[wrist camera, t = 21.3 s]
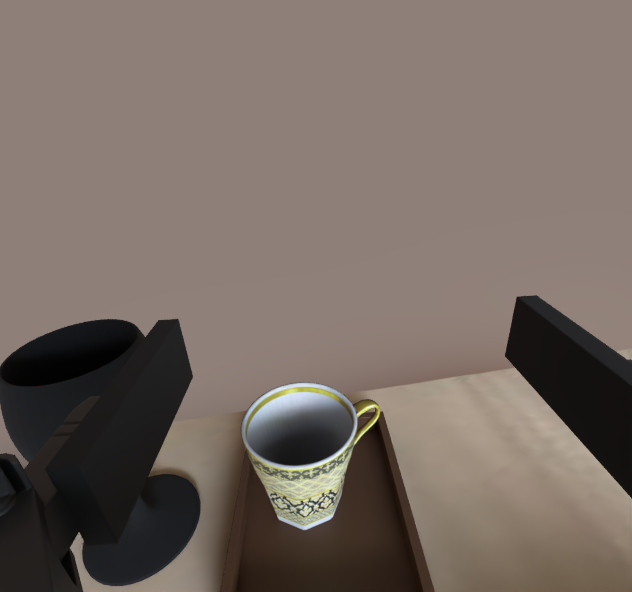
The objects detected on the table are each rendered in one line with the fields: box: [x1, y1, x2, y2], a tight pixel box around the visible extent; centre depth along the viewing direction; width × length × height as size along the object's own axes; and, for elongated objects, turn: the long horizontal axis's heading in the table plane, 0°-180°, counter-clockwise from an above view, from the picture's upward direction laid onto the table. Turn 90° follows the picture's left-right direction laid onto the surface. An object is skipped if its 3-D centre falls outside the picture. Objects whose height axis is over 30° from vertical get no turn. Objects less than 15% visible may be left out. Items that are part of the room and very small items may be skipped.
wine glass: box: [0, 319, 200, 586], centre depth 30 cm, size 10×10×20 cm
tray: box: [220, 412, 435, 592], centre depth 34 cm, size 16×20×3 cm
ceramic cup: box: [241, 382, 380, 530], centre depth 33 cm, size 13×10×10 cm
